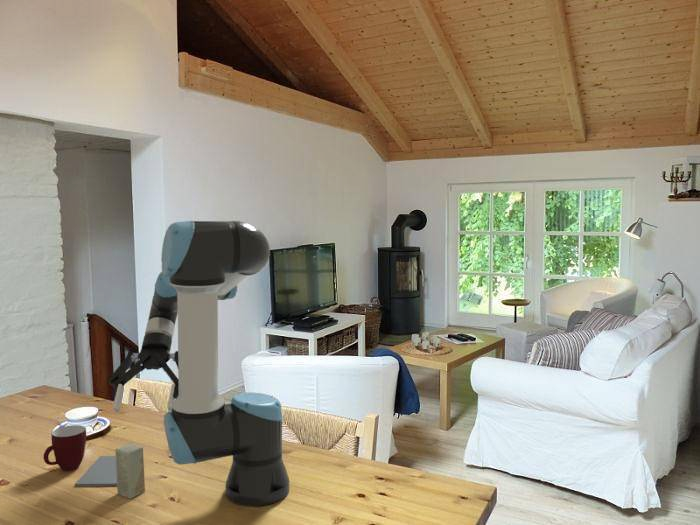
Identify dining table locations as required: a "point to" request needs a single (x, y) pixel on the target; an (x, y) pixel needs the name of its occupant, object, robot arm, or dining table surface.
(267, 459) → the robot arm
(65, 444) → the mug
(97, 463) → the mat
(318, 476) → the dining table surface
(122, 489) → the box
